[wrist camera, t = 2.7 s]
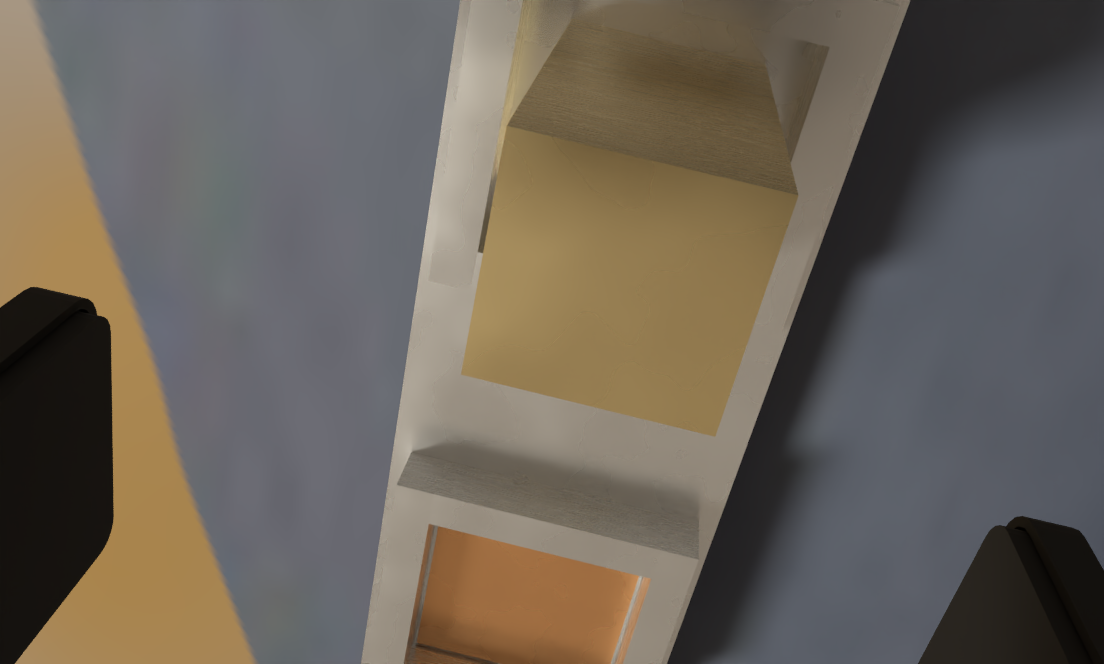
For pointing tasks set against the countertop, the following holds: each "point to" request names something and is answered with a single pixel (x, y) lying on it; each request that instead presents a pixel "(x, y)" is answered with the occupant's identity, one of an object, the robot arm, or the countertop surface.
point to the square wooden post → (632, 228)
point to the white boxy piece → (571, 428)
